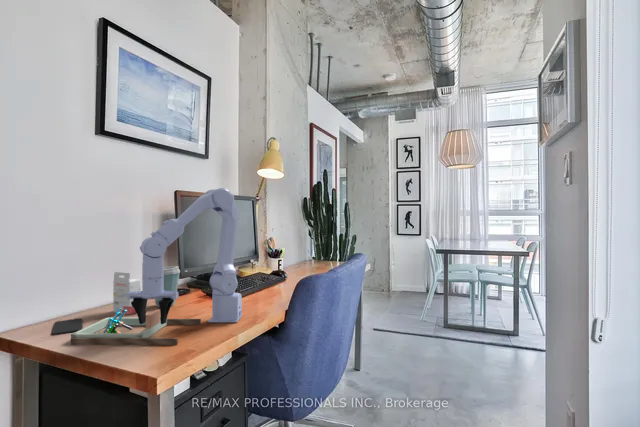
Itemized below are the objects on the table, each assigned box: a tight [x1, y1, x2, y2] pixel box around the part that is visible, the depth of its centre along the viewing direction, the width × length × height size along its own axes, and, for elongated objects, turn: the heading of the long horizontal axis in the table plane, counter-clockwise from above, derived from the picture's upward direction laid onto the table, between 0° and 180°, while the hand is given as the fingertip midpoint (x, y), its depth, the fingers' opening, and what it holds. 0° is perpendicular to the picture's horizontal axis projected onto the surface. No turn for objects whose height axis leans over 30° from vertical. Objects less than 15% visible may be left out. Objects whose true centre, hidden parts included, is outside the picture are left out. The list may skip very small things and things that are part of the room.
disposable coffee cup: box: [154, 265, 181, 308], centre depth 136 cm, size 11×11×15 cm
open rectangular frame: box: [70, 309, 168, 339], centre depth 103 cm, size 19×16×6 cm
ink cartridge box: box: [112, 271, 141, 316], centre depth 127 cm, size 9×5×15 cm, turn 68°
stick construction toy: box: [102, 308, 134, 333], centre depth 104 cm, size 12×7×8 cm
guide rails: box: [70, 318, 202, 346], centre depth 103 cm, size 29×18×2 cm, turn 89°
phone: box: [51, 317, 83, 336], centre depth 110 cm, size 7×1×15 cm
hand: (153, 323), depth 103 cm, fingers open, 6 cm apart
